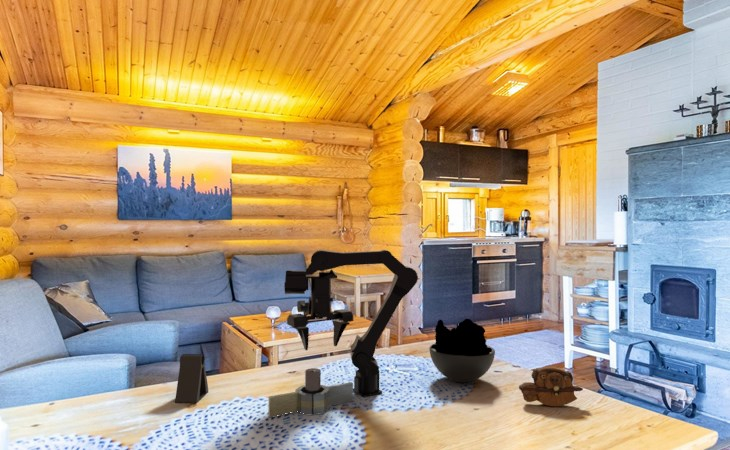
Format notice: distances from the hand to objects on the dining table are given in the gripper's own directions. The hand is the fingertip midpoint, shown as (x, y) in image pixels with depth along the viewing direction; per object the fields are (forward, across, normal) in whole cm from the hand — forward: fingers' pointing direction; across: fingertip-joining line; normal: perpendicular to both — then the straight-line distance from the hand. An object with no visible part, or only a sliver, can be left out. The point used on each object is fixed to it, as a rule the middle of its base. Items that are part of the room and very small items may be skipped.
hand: (320, 348), depth 140 cm
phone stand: (+13, +32, -15) cm, 38 cm away
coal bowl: (+13, -43, +12) cm, 46 cm away
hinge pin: (+13, +7, +10) cm, 18 cm away
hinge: (+13, +7, +10) cm, 18 cm away
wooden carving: (+13, -49, +40) cm, 65 cm away
